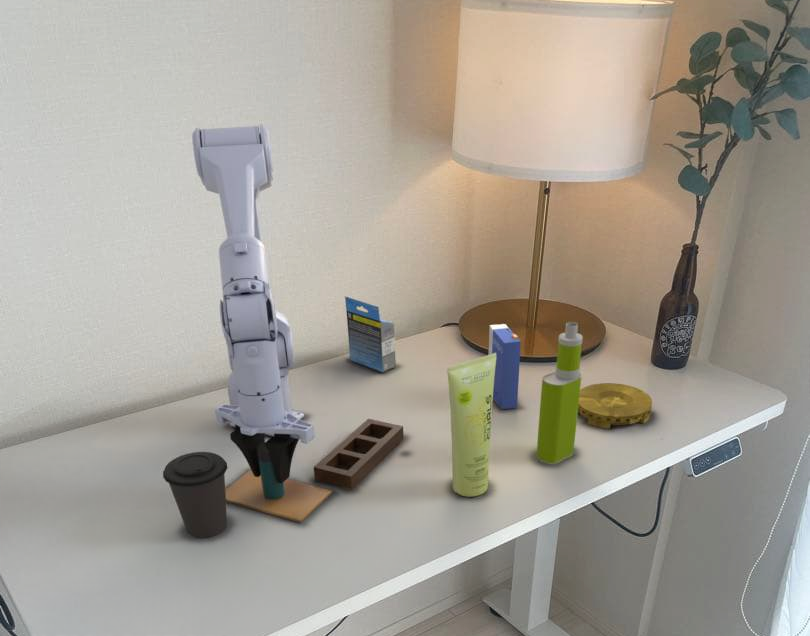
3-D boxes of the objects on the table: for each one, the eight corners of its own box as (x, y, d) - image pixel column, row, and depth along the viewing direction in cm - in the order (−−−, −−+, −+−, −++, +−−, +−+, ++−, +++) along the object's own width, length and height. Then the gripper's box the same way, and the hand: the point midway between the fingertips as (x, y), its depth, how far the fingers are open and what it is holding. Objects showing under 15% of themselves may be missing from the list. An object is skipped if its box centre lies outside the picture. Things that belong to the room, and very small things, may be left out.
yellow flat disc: (663, 423, 127) (665, 410, 126) (593, 433, 125) (594, 421, 124) (628, 391, 137) (630, 379, 135) (563, 400, 134) (564, 388, 133)
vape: (578, 452, 120) (592, 324, 109) (550, 466, 117) (562, 335, 106) (559, 443, 123) (571, 316, 111) (532, 456, 120) (541, 327, 108)
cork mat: (217, 498, 113) (216, 496, 112) (250, 471, 118) (250, 469, 118) (301, 522, 107) (300, 520, 107) (332, 493, 113) (331, 490, 113)
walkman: (517, 407, 133) (521, 338, 126) (501, 410, 132) (504, 340, 125) (502, 387, 139) (505, 321, 132) (486, 389, 139) (489, 322, 132)
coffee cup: (208, 551, 103) (194, 485, 97) (163, 533, 106) (146, 468, 100) (250, 519, 108) (239, 455, 102) (206, 503, 112) (193, 440, 106)
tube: (482, 502, 110) (486, 370, 99) (446, 497, 111) (447, 366, 100) (491, 481, 114) (496, 352, 103) (456, 476, 116) (458, 348, 104)
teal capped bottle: (259, 496, 112) (252, 449, 108) (271, 486, 114) (264, 439, 110) (277, 501, 111) (270, 454, 107) (289, 490, 113) (283, 444, 109)
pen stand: (314, 480, 116) (313, 467, 115) (369, 430, 128) (368, 418, 126) (351, 489, 114) (350, 476, 112) (403, 438, 125) (403, 426, 124)
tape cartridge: (397, 366, 147) (394, 301, 140) (382, 373, 145) (379, 307, 138) (363, 354, 152) (359, 290, 145) (348, 360, 150) (343, 296, 143)
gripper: (194, 388, 103) (211, 478, 111) (288, 409, 97) (300, 503, 105) (227, 367, 108) (242, 455, 116) (319, 386, 103) (328, 477, 110)
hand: (271, 476), depth 111 cm, fingers open, 3 cm apart
